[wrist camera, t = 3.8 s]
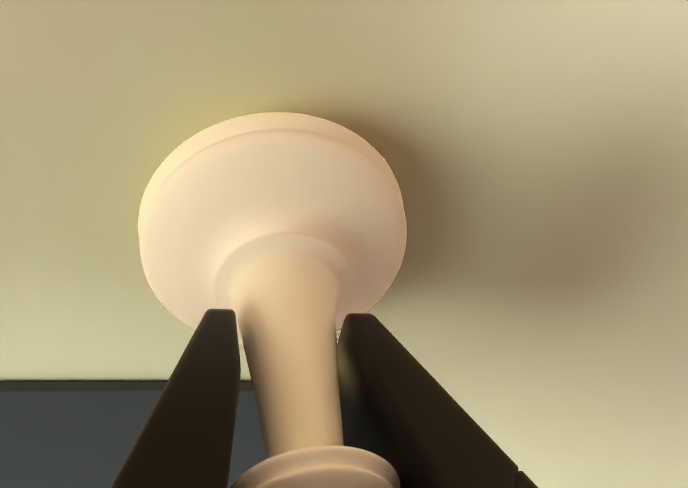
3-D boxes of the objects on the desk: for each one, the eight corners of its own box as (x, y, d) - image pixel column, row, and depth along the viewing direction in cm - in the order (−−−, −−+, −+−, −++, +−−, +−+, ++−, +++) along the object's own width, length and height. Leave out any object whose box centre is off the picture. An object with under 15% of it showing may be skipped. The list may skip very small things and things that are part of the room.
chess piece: (89, 267, 12) (-167, 1318, 4) (234, 52, 10) (333, 1297, 2) (303, 355, 14) (424, 1110, 6) (454, 196, 12) (914, 1005, 4)
